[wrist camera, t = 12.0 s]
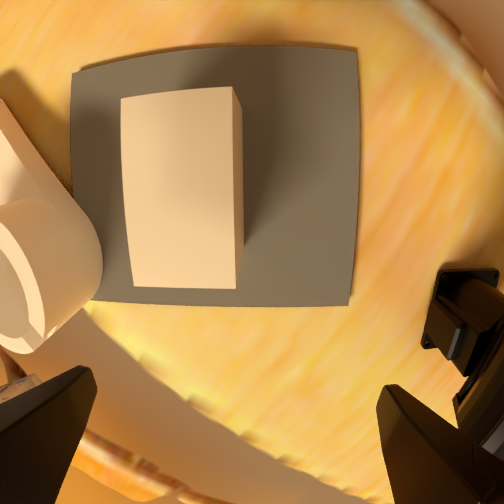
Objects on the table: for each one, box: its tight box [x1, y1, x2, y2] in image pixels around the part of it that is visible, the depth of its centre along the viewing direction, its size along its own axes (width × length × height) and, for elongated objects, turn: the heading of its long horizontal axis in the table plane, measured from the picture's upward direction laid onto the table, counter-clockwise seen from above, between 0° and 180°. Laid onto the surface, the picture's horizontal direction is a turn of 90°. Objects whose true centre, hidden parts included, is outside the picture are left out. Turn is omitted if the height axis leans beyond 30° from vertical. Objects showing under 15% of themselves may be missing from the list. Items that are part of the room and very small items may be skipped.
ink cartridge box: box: [0, 374, 42, 404], centre depth 21 cm, size 2×11×10 cm, turn 118°
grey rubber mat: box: [70, 45, 360, 307], centre depth 18 cm, size 18×16×1 cm
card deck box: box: [121, 87, 244, 289], centre depth 14 cm, size 8×4×6 cm, turn 1°
